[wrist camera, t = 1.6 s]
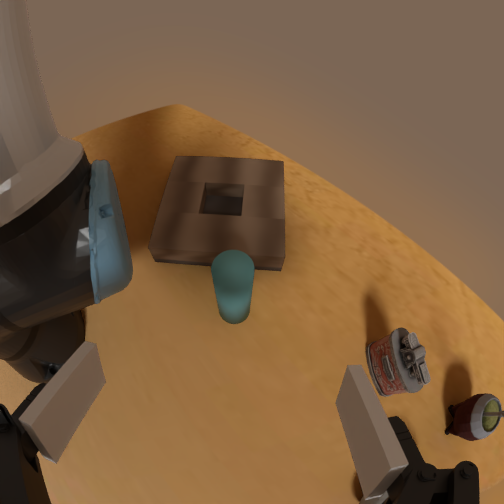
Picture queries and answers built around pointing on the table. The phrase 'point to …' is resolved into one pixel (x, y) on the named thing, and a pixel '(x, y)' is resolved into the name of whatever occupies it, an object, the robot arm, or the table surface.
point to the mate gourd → (475, 417)
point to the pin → (233, 284)
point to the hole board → (221, 212)
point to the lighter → (397, 363)
